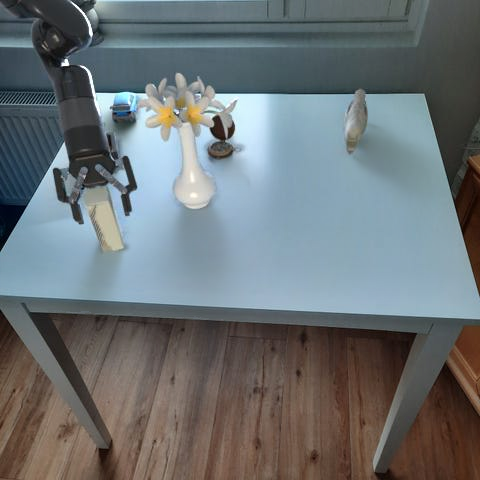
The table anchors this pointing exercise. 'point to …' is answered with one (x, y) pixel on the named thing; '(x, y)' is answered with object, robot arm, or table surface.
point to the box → (104, 218)
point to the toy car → (124, 107)
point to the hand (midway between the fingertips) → (104, 219)
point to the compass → (221, 140)
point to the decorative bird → (355, 120)
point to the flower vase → (187, 132)
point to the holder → (113, 145)
